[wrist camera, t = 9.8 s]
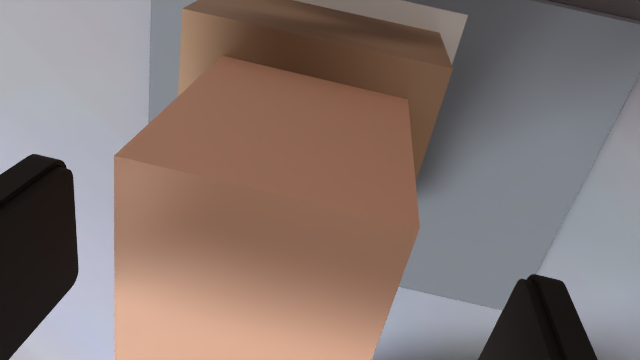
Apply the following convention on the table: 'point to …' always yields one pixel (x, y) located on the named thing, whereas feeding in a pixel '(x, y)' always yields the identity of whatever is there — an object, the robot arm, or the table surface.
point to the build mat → (486, 128)
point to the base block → (322, 51)
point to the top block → (263, 220)
